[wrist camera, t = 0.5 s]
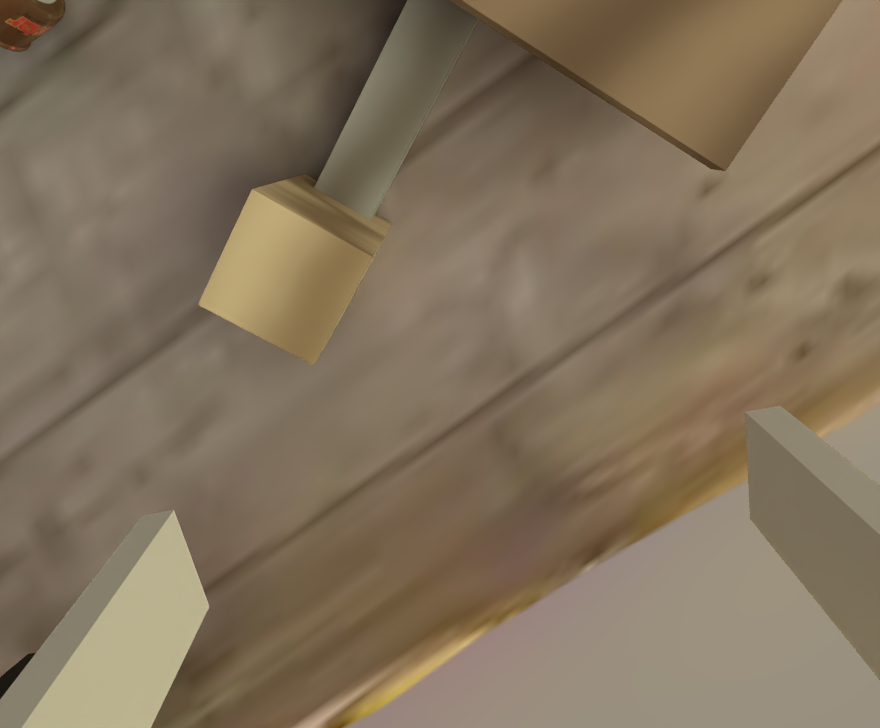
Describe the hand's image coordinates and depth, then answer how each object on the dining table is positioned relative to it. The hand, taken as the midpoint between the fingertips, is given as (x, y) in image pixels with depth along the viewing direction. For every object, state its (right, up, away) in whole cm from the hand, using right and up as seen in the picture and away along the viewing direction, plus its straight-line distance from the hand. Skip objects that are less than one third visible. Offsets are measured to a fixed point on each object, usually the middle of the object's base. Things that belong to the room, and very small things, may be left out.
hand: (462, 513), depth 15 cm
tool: (-2, +17, +17) cm, 24 cm away
